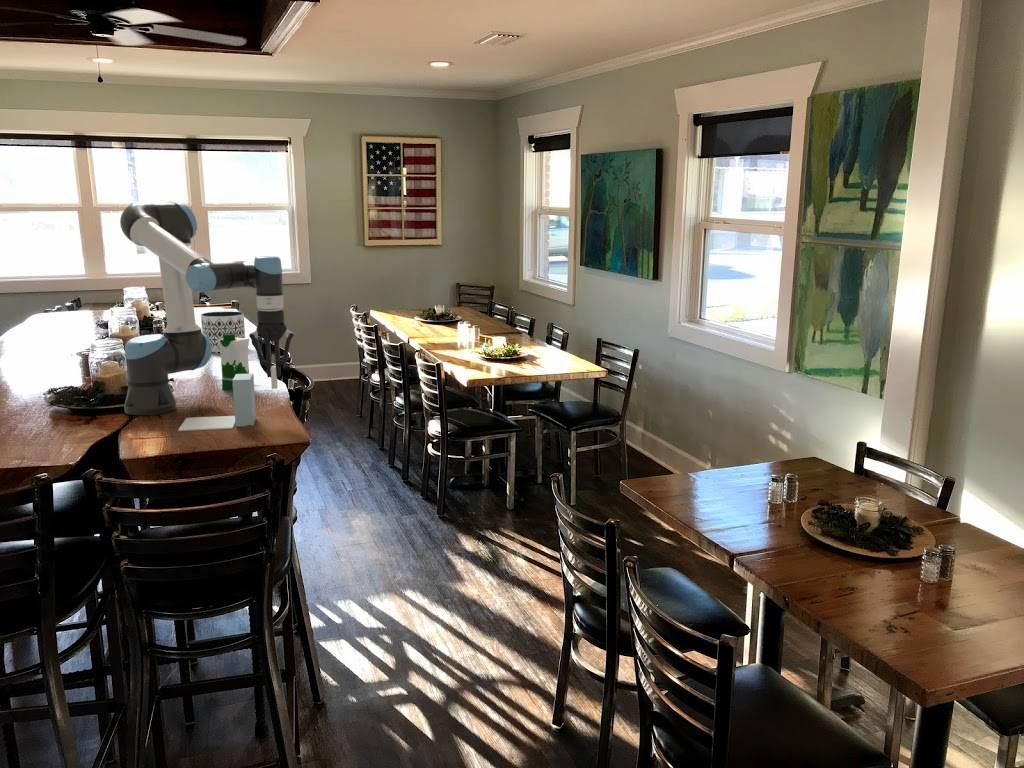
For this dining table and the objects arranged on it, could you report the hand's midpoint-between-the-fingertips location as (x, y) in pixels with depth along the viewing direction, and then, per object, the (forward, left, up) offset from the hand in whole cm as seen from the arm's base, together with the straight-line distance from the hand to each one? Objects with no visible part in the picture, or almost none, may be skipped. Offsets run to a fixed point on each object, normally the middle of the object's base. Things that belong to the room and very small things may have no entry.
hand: (274, 387), depth 242 cm
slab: (-9, 0, -10) cm, 14 cm away
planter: (-32, +134, -11) cm, 138 cm away
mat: (-19, 0, -10) cm, 22 cm away
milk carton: (-17, +48, -11) cm, 52 cm away
